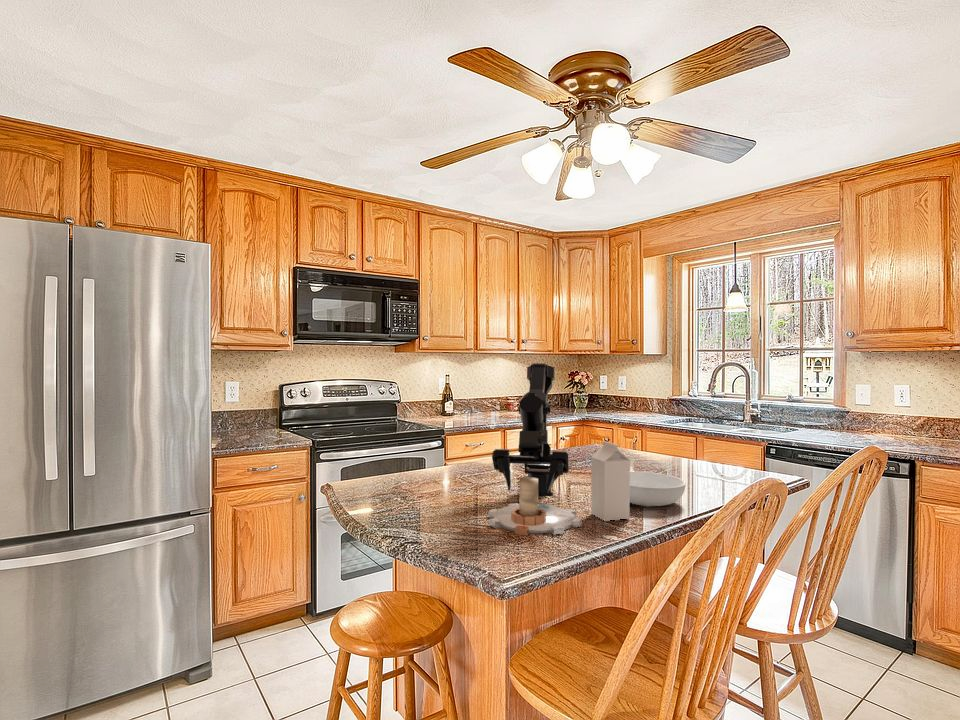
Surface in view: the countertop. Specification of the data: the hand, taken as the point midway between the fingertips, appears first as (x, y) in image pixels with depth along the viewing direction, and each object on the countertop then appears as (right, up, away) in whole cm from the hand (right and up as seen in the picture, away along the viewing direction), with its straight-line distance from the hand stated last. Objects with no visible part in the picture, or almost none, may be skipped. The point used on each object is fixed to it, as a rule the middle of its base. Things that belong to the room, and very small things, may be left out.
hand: (528, 490), depth 130 cm
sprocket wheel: (+2, -9, +6) cm, 11 cm away
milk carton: (+22, -9, +10) cm, 26 cm away
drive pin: (0, -8, +1) cm, 8 cm away
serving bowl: (+35, -9, +24) cm, 44 cm away
